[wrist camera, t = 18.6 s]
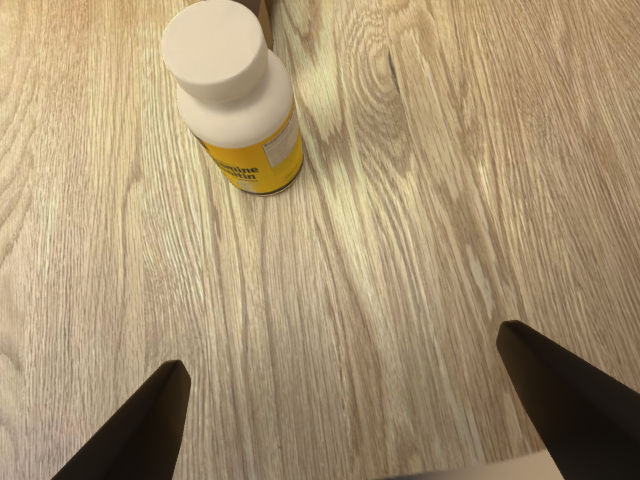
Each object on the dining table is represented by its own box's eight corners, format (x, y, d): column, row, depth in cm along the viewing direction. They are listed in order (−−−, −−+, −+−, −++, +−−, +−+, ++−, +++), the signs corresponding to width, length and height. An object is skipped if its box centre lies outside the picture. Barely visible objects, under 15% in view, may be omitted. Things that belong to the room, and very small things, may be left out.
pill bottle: (211, 152, 26) (115, 25, 14) (278, 112, 26) (236, -40, 15) (251, 214, 24) (179, 127, 13) (320, 171, 25) (309, 52, 14)
